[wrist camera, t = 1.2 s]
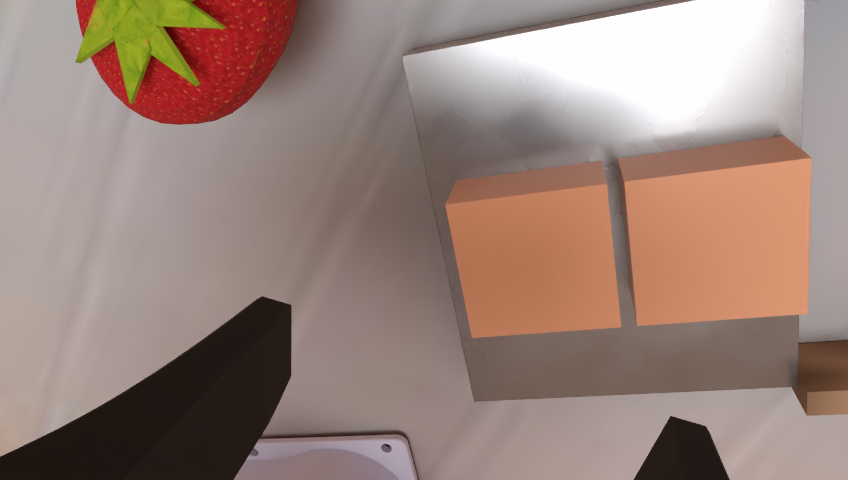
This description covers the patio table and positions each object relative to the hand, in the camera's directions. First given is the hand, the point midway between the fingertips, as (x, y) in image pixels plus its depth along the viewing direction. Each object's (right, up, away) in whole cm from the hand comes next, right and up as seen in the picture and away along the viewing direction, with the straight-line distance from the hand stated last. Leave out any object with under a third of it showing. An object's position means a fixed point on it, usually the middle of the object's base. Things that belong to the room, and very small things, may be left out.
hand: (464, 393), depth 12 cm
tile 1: (+9, +4, +9) cm, 13 cm away
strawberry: (-6, +12, +11) cm, 18 cm away
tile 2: (+3, +3, +11) cm, 12 cm away
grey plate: (+6, +4, +12) cm, 14 cm away
